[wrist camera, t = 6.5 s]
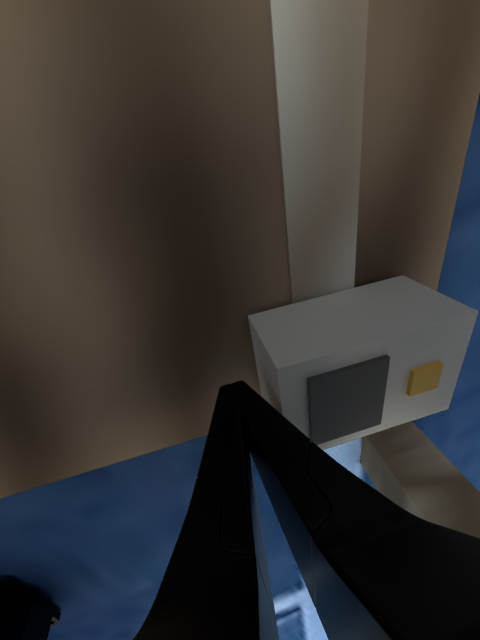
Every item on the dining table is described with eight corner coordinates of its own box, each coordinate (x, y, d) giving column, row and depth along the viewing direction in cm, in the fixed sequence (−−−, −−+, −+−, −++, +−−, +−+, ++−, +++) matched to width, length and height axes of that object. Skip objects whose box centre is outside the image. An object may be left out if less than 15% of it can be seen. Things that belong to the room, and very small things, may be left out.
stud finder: (261, 397, 12) (290, 465, 9) (247, 315, 10) (279, 372, 7) (390, 358, 13) (451, 411, 10) (402, 275, 11) (483, 313, 8)
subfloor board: (-5, 471, 13) (-25, 508, 11) (-716, -218, 4) (-1159, -409, 3) (398, 352, 15) (421, 371, 14) (492, -245, 6) (581, -355, 5)
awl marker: (360, 463, 20) (491, 664, 12) (363, 432, 18) (517, 643, 10) (402, 448, 20) (556, 634, 12) (408, 418, 18) (591, 609, 11)
